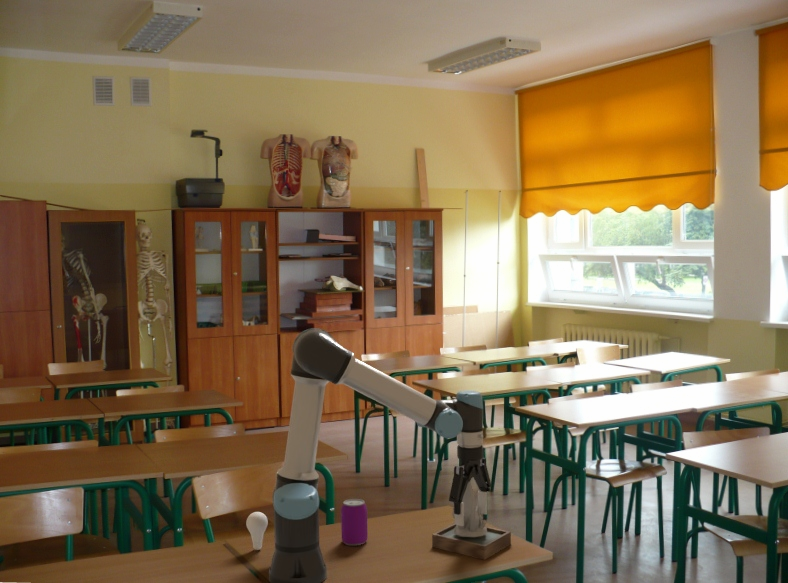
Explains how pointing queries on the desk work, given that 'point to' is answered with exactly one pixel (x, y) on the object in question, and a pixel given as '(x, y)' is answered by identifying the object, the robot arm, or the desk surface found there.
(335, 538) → the desk surface
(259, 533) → the lightbulb
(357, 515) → the beverage can
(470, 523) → the crystal
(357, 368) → the robot arm
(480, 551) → the wooden tray
